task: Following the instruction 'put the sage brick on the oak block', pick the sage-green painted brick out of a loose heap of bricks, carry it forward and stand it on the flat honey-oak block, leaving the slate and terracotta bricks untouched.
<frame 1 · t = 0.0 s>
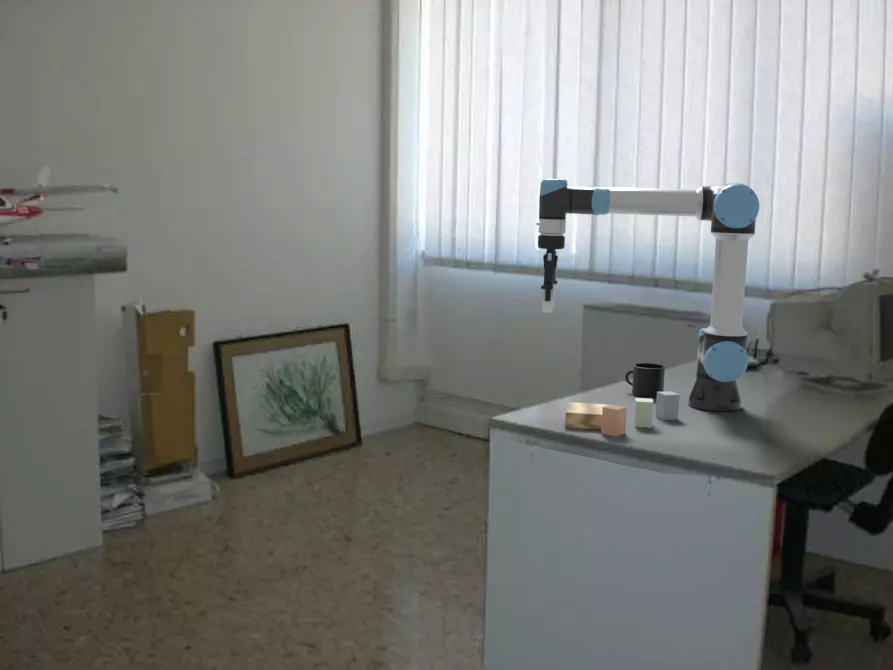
hand: (548, 309, 291), 28 cm above the table, fingers open, 13 cm apart
mug: (643, 394, 316), on the table
sage brick: (642, 425, 275), on the table
slate brick: (666, 417, 285), on the table
terracotta brick: (613, 433, 265), on the table
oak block: (590, 423, 276), on the table
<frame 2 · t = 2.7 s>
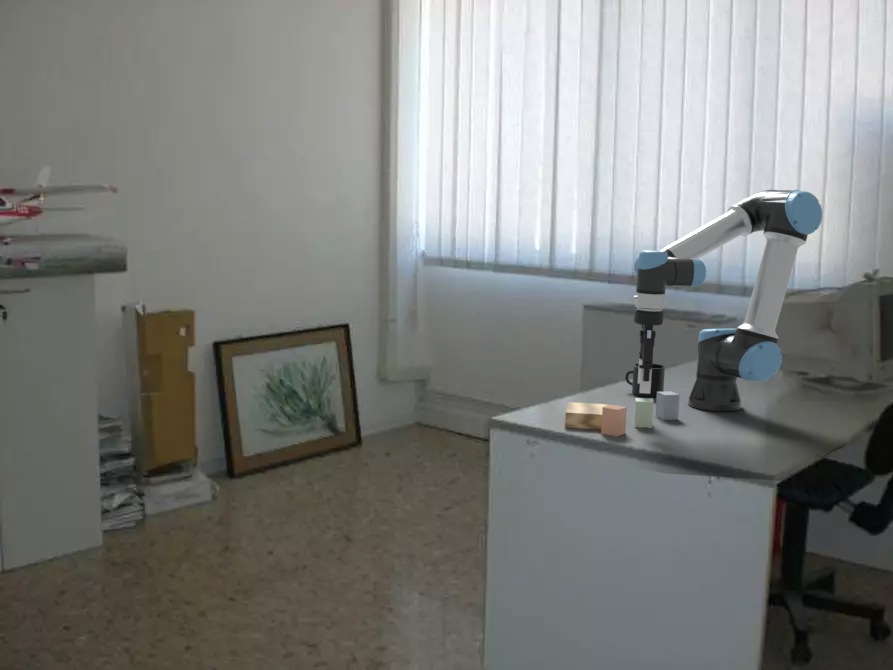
hand: (643, 388, 273), 10 cm above the table, fingers open, 13 cm apart
nothing on the table moved.
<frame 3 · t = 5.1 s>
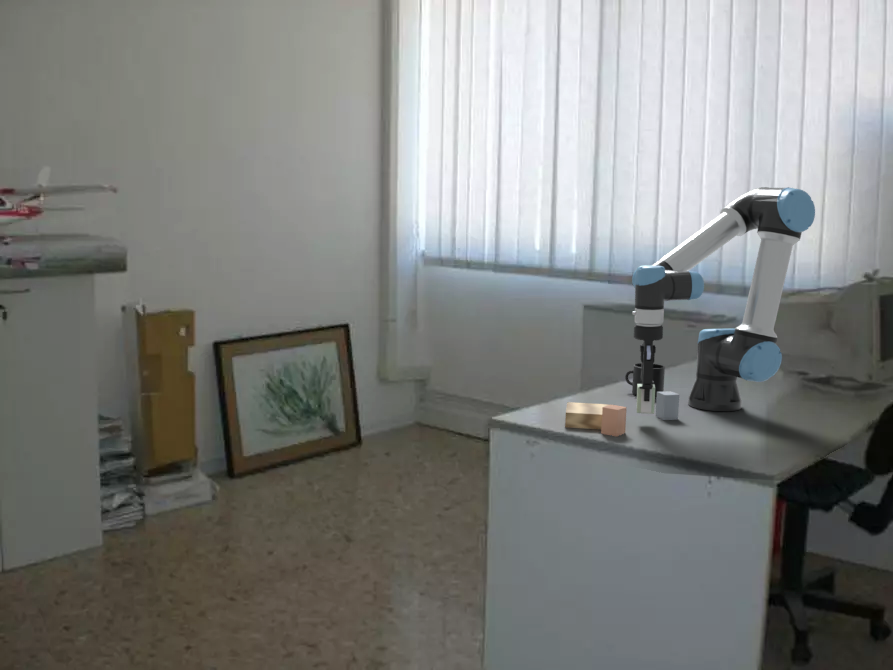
hand: (645, 410, 275), 4 cm above the table, fingers closed on sage brick, 4 cm apart
sage brick: (645, 411, 275), point 4 cm above the table, touching gripper
everything else where it was.
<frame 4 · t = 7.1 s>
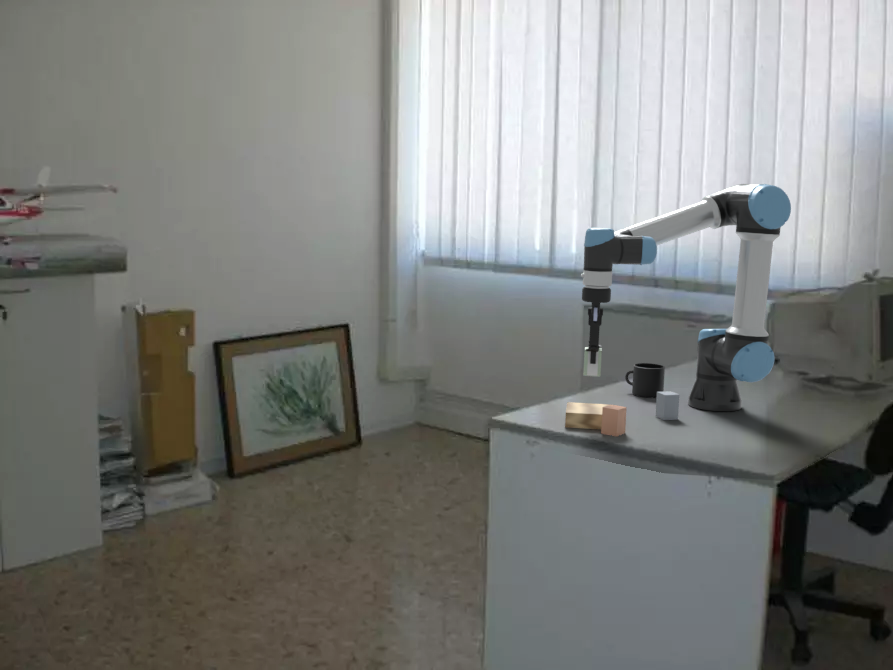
hand: (592, 373, 274), 14 cm above the table, fingers closed on sage brick, 4 cm apart
sage brick: (591, 374, 274), point 13 cm above the table, touching gripper
everything else where it was.
when the fingers open (4 cm above the table, at t = 9.3 s): sage brick stays where it is, resting on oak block.
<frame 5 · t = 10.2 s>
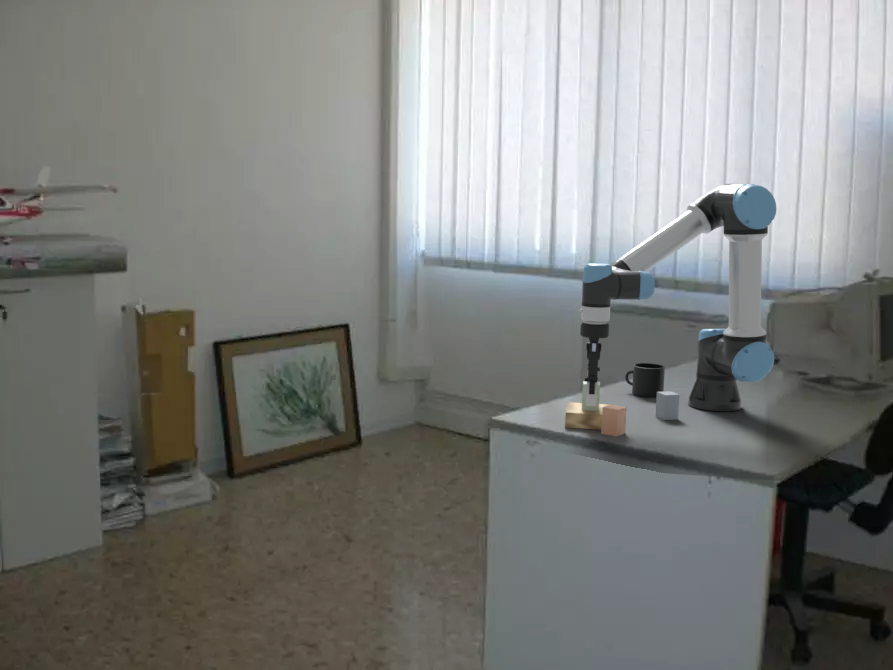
hand: (591, 400, 275), 6 cm above the table, fingers open, 13 cm apart
sage brick: (590, 408, 275), point 4 cm above the table, touching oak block
everything else where it was.
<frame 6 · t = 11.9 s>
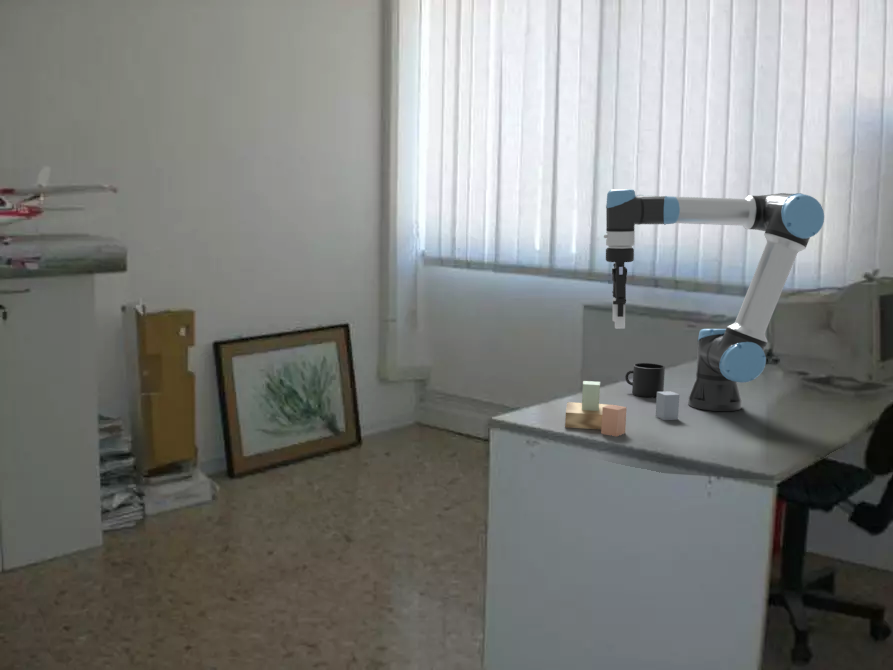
hand: (618, 324, 280), 26 cm above the table, fingers open, 13 cm apart
nothing on the table moved.
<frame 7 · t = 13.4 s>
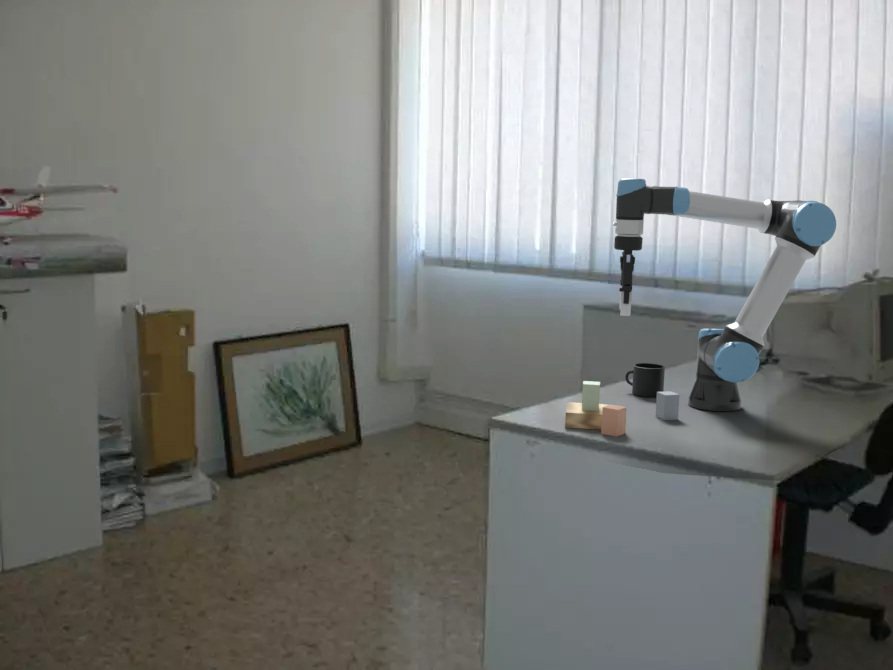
hand: (624, 312, 283), 29 cm above the table, fingers open, 13 cm apart
nothing on the table moved.
at the end: sage brick inside the target area on the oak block (0.1 cm from its centre), point 4.0 cm above the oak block's base; sage brick tilted 0°; terracotta brick moved 0.1 cm from its start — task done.
